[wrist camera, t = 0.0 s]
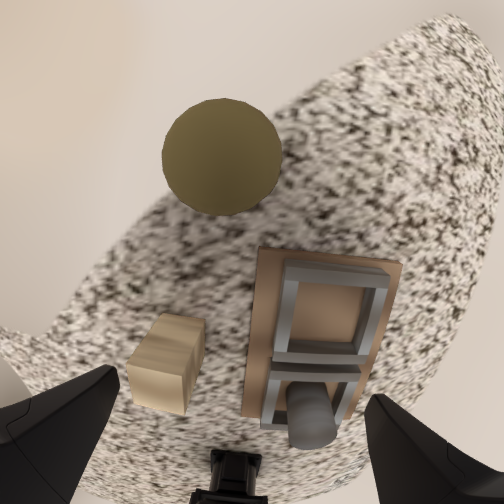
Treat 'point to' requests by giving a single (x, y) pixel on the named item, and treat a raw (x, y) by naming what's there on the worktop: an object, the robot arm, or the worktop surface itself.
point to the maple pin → (167, 363)
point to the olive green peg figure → (222, 157)
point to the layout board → (314, 339)
